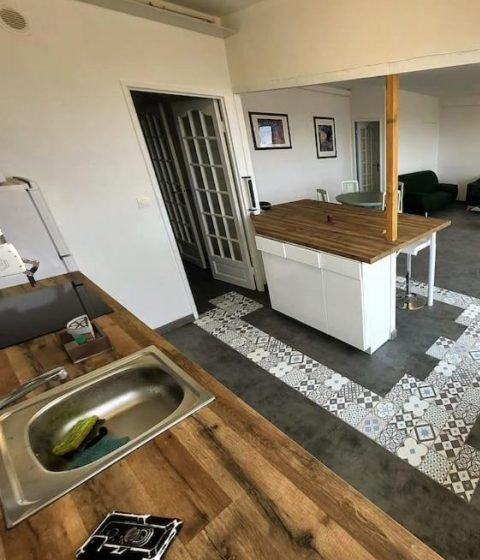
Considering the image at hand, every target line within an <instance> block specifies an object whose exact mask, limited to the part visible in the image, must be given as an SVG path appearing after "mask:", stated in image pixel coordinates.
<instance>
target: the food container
mask: <svg viewBox="0 0 480 560" xmlns="http://www.w3.org/2000/svg"><path fill="white" fill-rule="evenodd" d="M90 322H91V321H90V319H89V317H88V315H87V314H82V315H80V316H78V317H74V318H73V319H71V320H70V321H69V322H67V324H66V330H67V332H68V333H69V334H72V336H73V337H74V339H75V340H76V342H77V344H78V345H81V344H84V343H87V342H89V341H92V340H95V339H97V337H96V335H95V332H94V330H93V328H92V326H91V323H90Z"/></svg>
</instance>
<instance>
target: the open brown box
mask: <svg viewBox="0 0 480 560" xmlns="http://www.w3.org/2000/svg"><path fill="white" fill-rule="evenodd" d="M90 323H91V326H92V328H93V330H94V332H95V335H96V337H97V339H95V340H92V341H89V342H87V343H84V344H81V345H78V344H77V342H76V340H75V339H74V337H73V336H72V334H69V333H68V332H67V329H65V330H61V331H59V332H57V336H58V337H59V339H60V341H61V343H62V345H63V347H64V349H65V350H66V352H67V354H68V355H69V357H70V359H71V361H72V362H73V364H77V363H80V362H83V361H85V360H87V359H90V358H93V357H96V356H98V355H100V354H103V353H106V352H108V351H112V350H113V349H114V347H113V345H112V342H111V340H110V338H109V335H108V334H107V333H106V332H105V331H104V329H103V328H102V327H101V326H100V324H98V322H97V321H96V320H92V321H90Z"/></svg>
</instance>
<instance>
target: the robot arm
mask: <svg viewBox="0 0 480 560" xmlns="http://www.w3.org/2000/svg"><path fill="white" fill-rule="evenodd" d="M40 263H41V262H40V261H39V260H37V259H31V258H30V259H29V258H23V257H21V256H20V254H19V252H18V250H17V249H16V248H15V246H14V245H13V244H12V243H11V242H9V241H7V239H6V237H5V235H4V233H3V231H2V229H1V228H0V278H5V277H11V276H15V275H20V274H24V275H25V276H26V278H27V280H28V282H29V285H30V286H31V288H36V285H35V284H37V281H36V279H35V277H34V275H35V273H36V272H37V271H38V270H39V267H40ZM26 264H30V265H32V266H31V268H30V269H28V268H26Z"/></svg>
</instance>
